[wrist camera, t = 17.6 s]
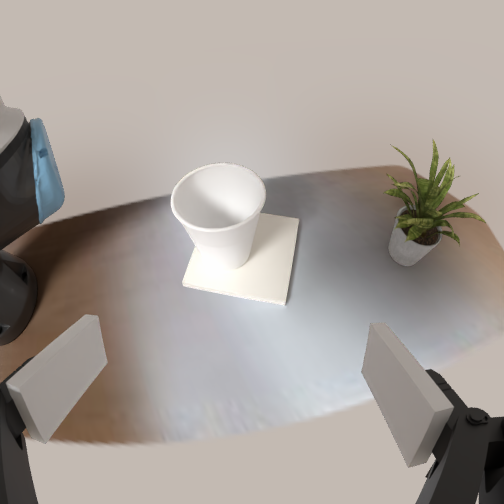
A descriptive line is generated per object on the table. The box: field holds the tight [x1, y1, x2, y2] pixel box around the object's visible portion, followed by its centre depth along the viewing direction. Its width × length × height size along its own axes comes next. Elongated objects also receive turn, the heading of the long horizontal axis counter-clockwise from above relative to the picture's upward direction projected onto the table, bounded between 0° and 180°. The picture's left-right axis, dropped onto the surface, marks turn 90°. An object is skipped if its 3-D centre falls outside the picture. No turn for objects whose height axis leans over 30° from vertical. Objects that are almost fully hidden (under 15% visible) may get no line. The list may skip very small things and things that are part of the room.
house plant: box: [384, 140, 486, 266], centre depth 35 cm, size 14×14×16 cm
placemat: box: [182, 213, 299, 305], centre depth 41 cm, size 13×13×1 cm
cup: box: [171, 163, 266, 271], centre depth 36 cm, size 10×10×11 cm
